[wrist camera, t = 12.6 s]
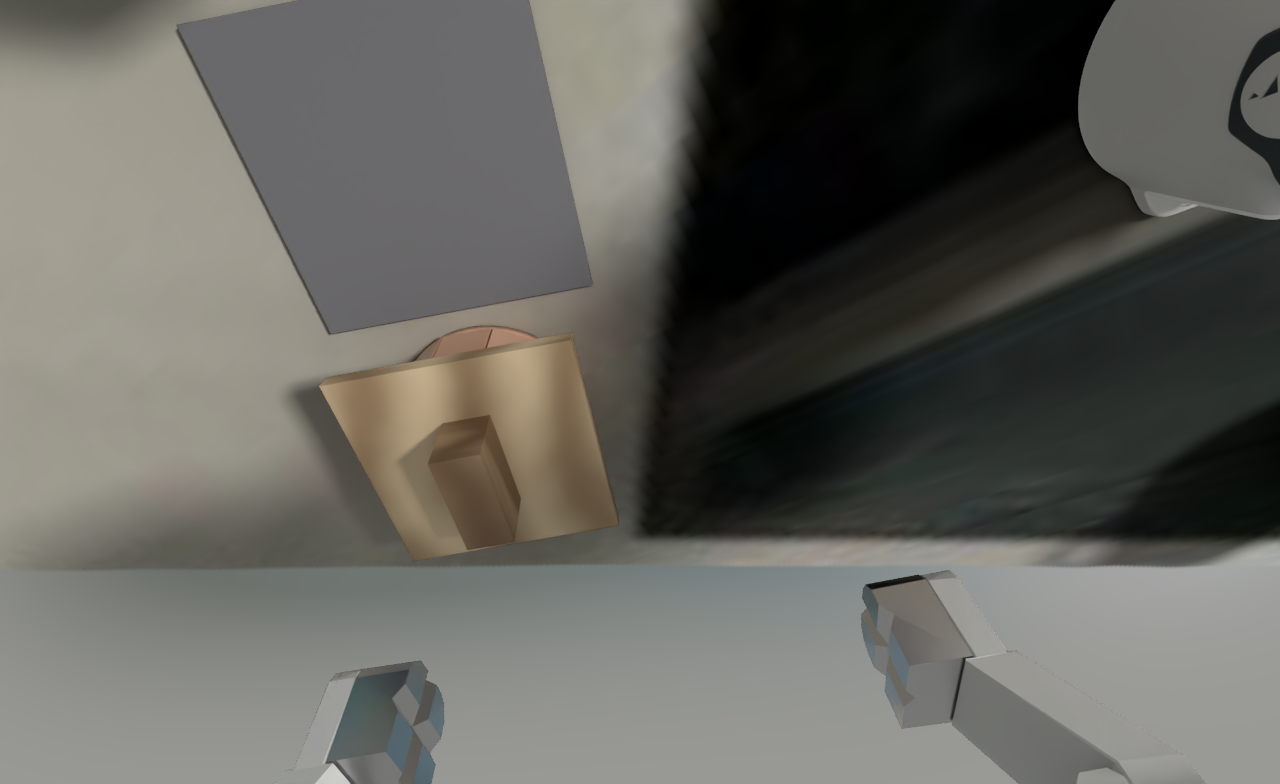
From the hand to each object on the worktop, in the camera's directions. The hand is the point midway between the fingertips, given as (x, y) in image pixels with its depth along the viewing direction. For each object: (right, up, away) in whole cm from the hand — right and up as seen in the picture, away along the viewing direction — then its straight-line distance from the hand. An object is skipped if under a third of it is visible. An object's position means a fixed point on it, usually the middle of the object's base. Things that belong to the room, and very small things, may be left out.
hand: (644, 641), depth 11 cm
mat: (-14, +18, +25) cm, 33 cm away
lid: (-10, +1, +28) cm, 30 cm away
